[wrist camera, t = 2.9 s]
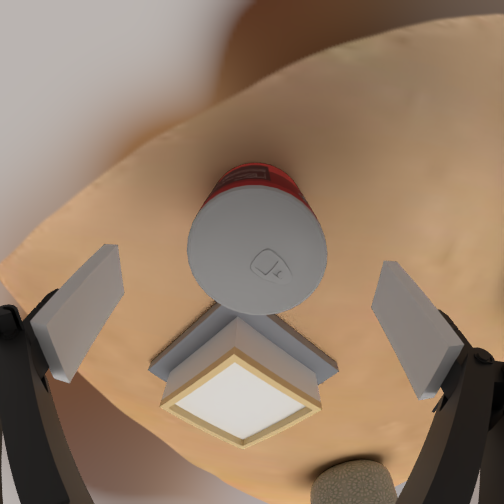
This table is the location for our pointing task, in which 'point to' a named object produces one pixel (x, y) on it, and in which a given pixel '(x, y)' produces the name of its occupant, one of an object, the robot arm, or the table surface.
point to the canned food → (257, 242)
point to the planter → (354, 484)
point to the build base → (242, 376)
